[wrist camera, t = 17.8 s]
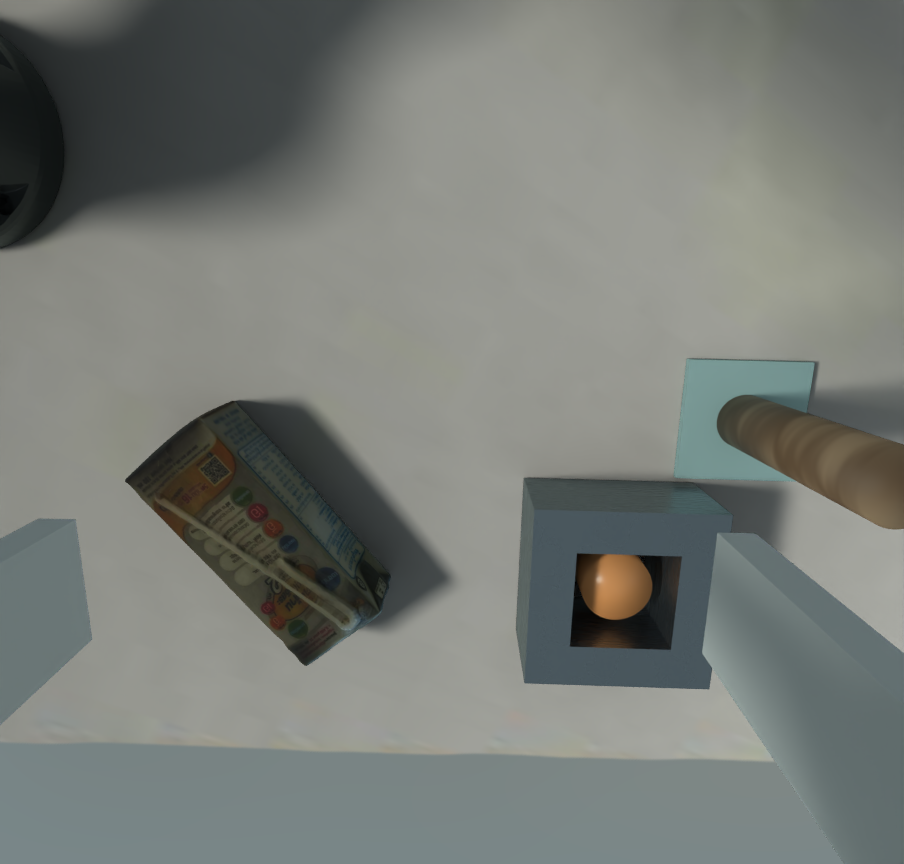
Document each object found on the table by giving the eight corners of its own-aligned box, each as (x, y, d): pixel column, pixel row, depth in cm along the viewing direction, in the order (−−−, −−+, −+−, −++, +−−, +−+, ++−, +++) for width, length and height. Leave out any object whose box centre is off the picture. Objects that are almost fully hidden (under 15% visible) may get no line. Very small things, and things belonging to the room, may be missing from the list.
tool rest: (686, 358, 43) (689, 359, 42) (810, 361, 43) (814, 362, 42) (673, 475, 45) (676, 478, 44) (791, 479, 45) (795, 481, 44)
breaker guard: (523, 477, 45) (534, 509, 38) (692, 482, 45) (733, 515, 38) (515, 628, 48) (524, 683, 41) (674, 633, 48) (709, 689, 41)
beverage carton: (322, 629, 49) (300, 679, 42) (160, 455, 46) (110, 481, 39) (395, 575, 48) (384, 618, 41) (234, 393, 45) (194, 408, 38)
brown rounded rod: (720, 394, 43) (867, 447, 27) (774, 395, 43) (953, 449, 27) (713, 446, 44) (852, 528, 28) (767, 448, 44) (936, 530, 28)
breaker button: (571, 527, 46) (584, 554, 41) (635, 529, 46) (655, 556, 41) (567, 585, 47) (579, 618, 42) (629, 587, 47) (648, 620, 42)
